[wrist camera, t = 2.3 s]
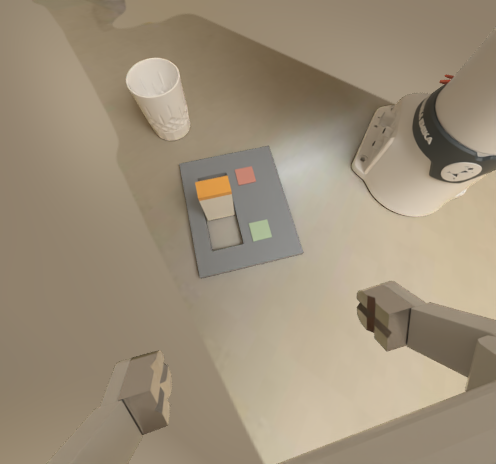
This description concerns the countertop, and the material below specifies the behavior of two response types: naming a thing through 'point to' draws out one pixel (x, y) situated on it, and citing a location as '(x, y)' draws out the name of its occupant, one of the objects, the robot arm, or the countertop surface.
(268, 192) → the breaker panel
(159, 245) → the countertop surface
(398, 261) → the countertop surface
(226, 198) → the handle
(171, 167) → the countertop surface
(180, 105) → the white cup
